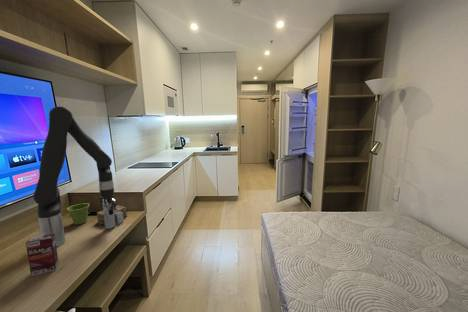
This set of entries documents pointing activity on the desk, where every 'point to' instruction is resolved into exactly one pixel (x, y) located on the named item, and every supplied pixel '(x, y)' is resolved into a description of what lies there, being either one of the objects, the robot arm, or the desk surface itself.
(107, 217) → the tall pin
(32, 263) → the supplement box
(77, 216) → the plant pot
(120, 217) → the grey rectangular block
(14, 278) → the desk surface
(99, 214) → the block with rectangular hole
